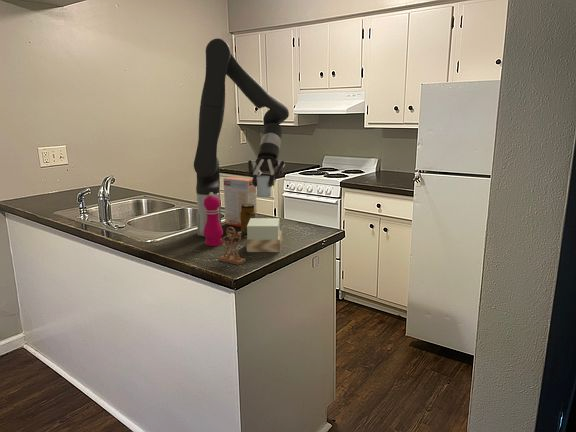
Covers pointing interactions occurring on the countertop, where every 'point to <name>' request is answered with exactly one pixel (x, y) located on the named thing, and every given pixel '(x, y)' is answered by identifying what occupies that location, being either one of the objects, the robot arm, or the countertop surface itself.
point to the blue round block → (263, 186)
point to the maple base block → (265, 245)
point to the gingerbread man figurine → (227, 256)
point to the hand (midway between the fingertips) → (262, 185)
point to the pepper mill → (212, 221)
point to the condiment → (246, 217)
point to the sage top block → (263, 229)
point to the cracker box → (237, 198)
